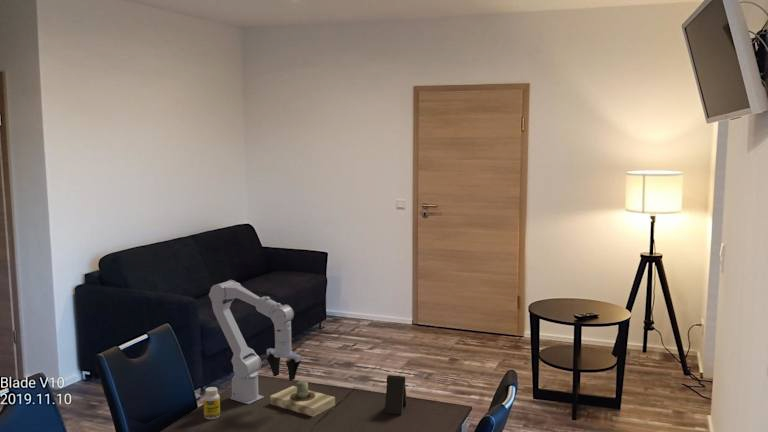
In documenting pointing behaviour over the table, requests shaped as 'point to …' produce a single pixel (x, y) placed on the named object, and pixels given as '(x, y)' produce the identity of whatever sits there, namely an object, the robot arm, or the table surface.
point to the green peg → (302, 390)
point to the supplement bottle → (211, 403)
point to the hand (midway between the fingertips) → (284, 377)
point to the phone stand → (395, 395)
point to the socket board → (302, 401)
